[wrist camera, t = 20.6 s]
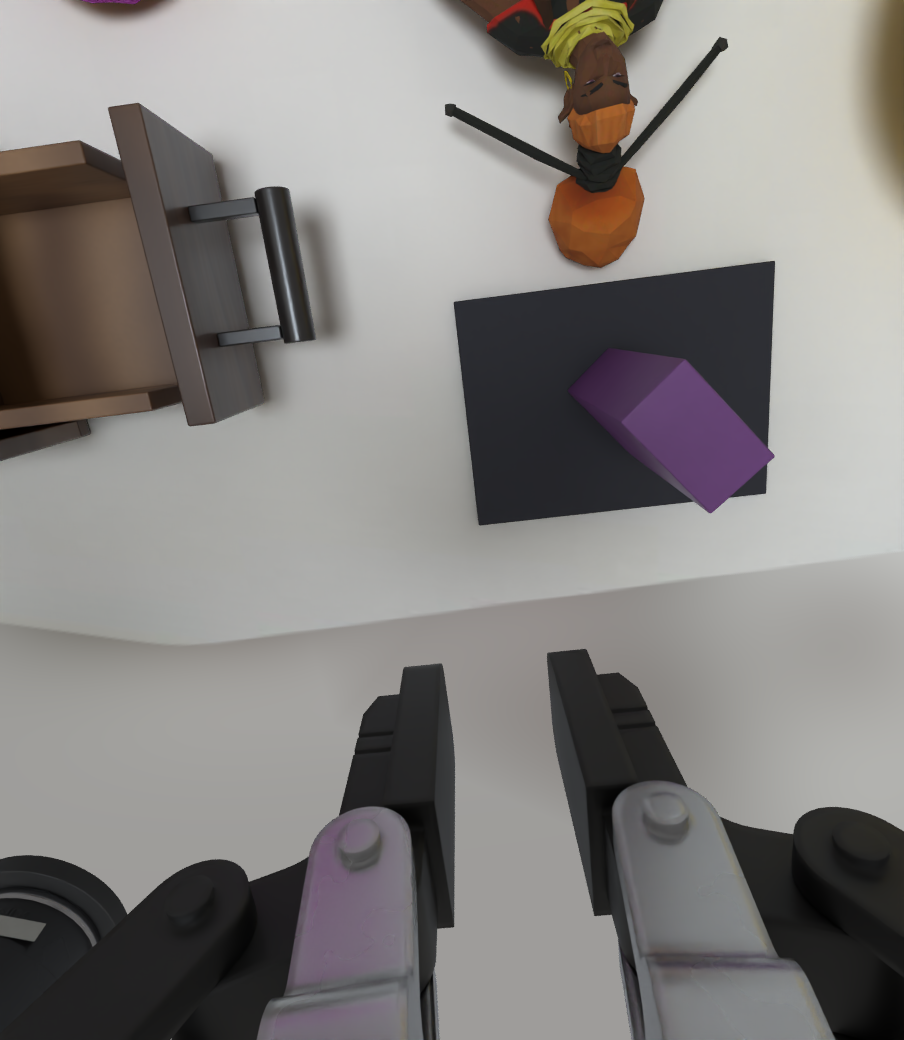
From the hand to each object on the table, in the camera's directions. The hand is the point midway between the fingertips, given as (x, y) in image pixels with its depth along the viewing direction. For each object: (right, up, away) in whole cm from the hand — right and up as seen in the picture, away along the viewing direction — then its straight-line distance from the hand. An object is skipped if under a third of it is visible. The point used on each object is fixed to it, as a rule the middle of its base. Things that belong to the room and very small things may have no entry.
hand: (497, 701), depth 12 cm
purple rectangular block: (+8, +10, +20) cm, 24 cm away
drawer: (-16, +15, +19) cm, 29 cm away
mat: (+8, +10, +21) cm, 24 cm away
